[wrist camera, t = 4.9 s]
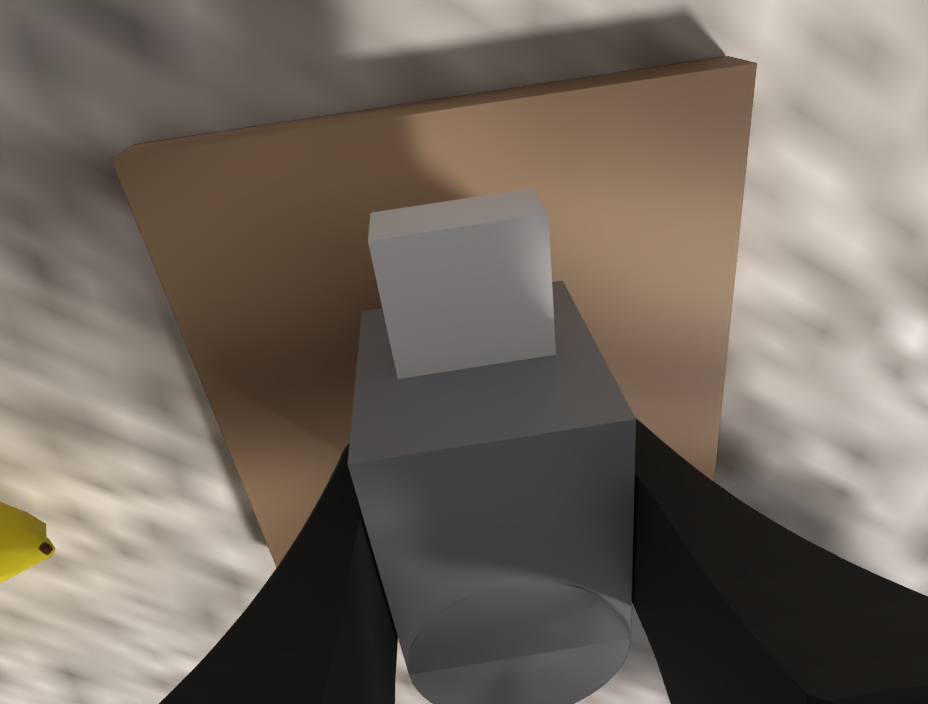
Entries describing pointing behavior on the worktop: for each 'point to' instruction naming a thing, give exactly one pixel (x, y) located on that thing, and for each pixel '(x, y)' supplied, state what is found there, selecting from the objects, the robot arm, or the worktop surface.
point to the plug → (491, 459)
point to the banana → (21, 541)
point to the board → (438, 180)
